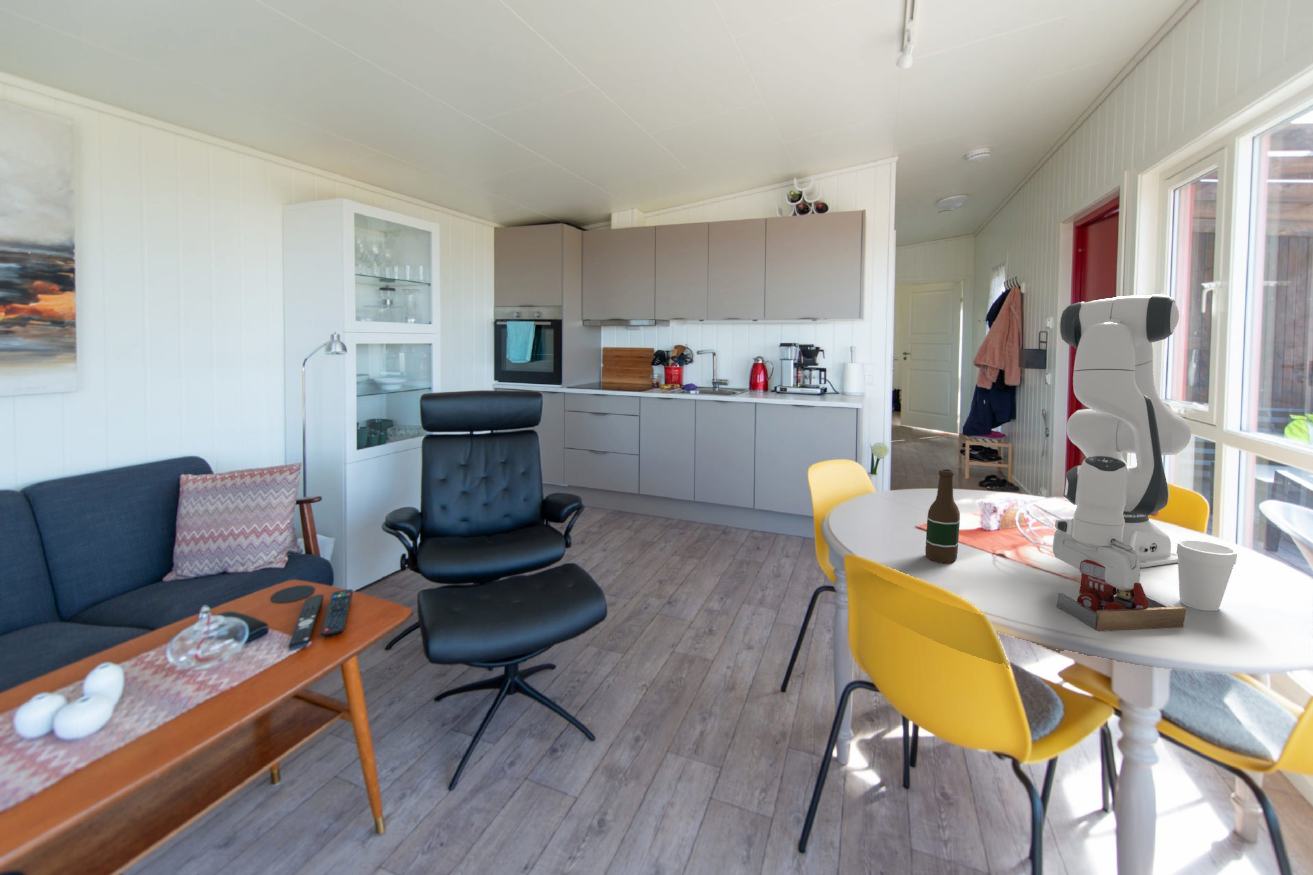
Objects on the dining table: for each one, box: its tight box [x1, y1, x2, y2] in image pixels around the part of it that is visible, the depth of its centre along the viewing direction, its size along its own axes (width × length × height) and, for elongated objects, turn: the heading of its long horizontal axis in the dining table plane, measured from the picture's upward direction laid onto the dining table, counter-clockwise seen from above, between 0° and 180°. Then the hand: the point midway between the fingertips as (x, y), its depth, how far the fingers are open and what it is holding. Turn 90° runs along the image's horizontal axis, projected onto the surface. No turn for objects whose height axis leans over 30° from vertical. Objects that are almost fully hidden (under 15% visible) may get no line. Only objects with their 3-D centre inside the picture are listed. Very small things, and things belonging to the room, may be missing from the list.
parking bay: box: [1056, 592, 1187, 632], centre depth 123 cm, size 18×11×4 cm, turn 94°
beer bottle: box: [924, 468, 961, 564], centre depth 155 cm, size 8×8×24 cm
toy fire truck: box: [1076, 560, 1149, 612], centre depth 123 cm, size 7×12×10 cm, turn 26°
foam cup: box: [1176, 539, 1238, 612], centre depth 127 cm, size 10×9×13 cm
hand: (1090, 592), depth 130 cm, fingers closed
